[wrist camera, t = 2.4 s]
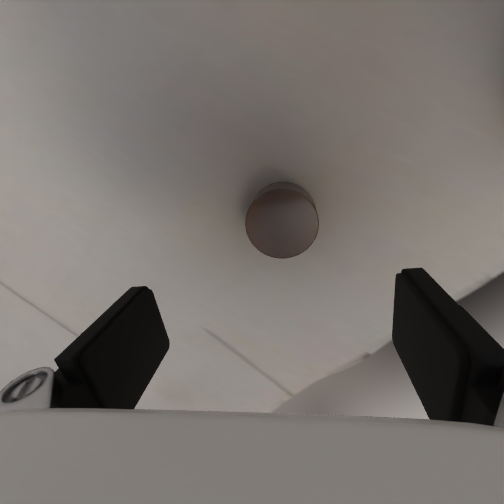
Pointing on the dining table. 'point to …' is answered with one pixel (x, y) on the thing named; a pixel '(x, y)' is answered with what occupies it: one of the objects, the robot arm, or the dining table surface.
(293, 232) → the walnut chip
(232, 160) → the dining table surface
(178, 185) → the dining table surface
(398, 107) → the dining table surface
